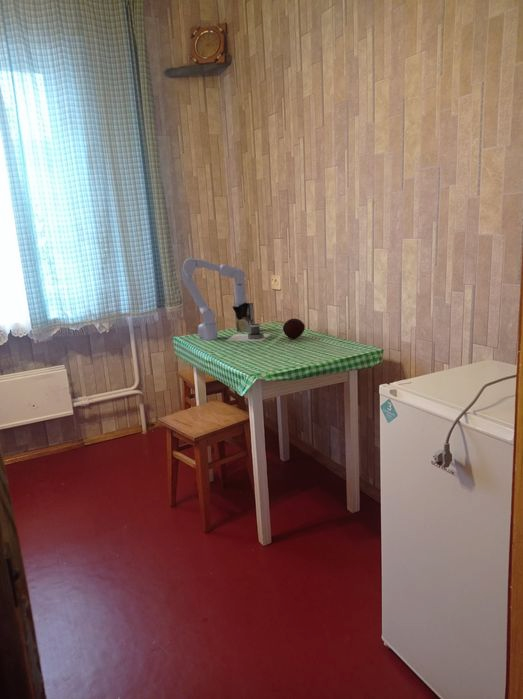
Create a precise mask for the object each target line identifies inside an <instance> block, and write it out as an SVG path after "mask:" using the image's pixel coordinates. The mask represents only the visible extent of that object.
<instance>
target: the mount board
mask: <svg viewBox="0 0 523 699" xmlns="http://www.w3.org/2000/svg"><path fill="white" fill-rule="evenodd" d="M269 336H271V334H270V333H266V334H265V333H264V332H260V335H251V332H249V333H248V334H247V333H245V334H243V333H242V334H241V333H240V334H238V333H237V334H233V335H232V336H230V337H229V338H227V339H225V340H224V341H225V342H263V341H264V340H266V339H267V338H268V337H269Z"/></svg>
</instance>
